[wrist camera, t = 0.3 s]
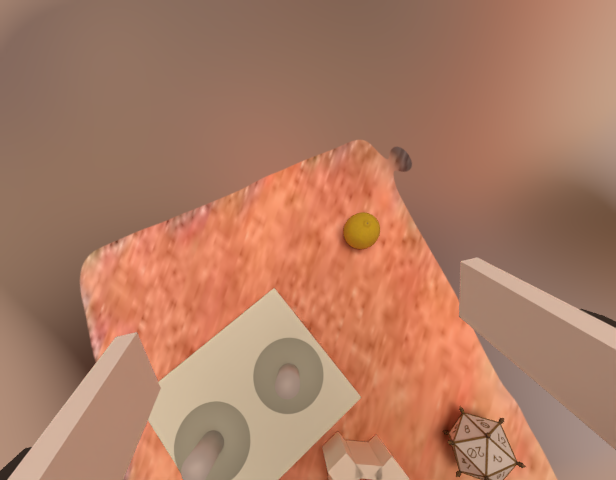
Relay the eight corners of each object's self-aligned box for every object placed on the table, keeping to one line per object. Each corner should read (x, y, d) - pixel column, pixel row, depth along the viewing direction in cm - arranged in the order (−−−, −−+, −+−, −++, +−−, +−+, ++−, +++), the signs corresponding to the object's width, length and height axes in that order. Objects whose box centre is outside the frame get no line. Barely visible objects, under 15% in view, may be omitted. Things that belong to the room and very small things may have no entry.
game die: (447, 440, 45) (453, 508, 36) (435, 391, 44) (438, 449, 35) (515, 445, 41) (541, 523, 32) (503, 392, 40) (527, 457, 31)
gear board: (358, 393, 42) (374, 413, 34) (224, 525, 37) (203, 587, 29) (275, 289, 46) (270, 282, 37) (142, 396, 41) (102, 417, 32)
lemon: (333, 238, 49) (340, 223, 41) (354, 216, 50) (365, 197, 42) (357, 260, 48) (369, 249, 40) (378, 238, 49) (394, 222, 41)
